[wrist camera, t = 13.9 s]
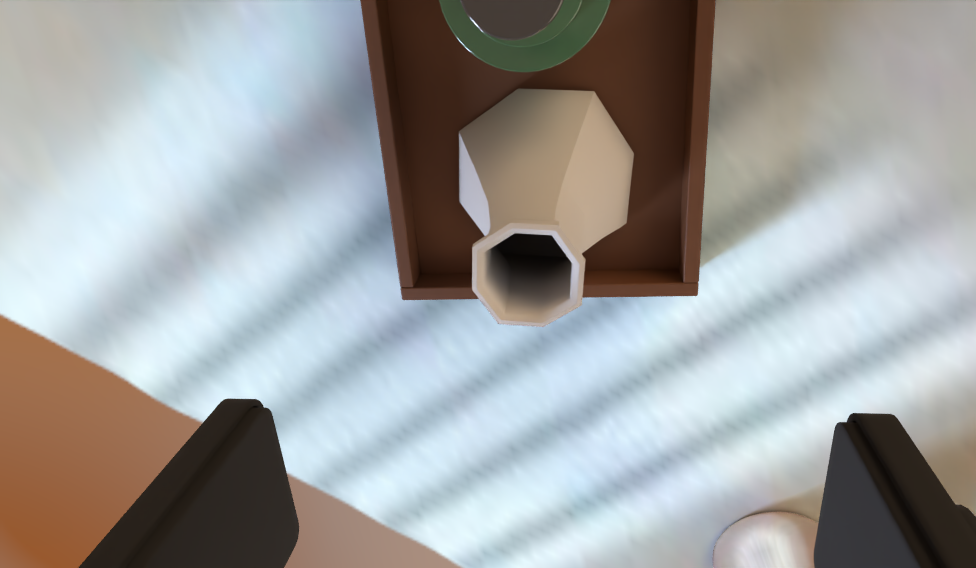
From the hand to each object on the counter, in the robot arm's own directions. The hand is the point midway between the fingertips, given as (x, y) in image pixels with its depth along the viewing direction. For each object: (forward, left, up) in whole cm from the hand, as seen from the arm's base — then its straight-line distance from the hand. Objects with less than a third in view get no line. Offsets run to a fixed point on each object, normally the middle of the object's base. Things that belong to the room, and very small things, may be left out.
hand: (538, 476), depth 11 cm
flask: (+1, 0, -18) cm, 18 cm away
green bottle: (+1, -7, -18) cm, 19 cm away
